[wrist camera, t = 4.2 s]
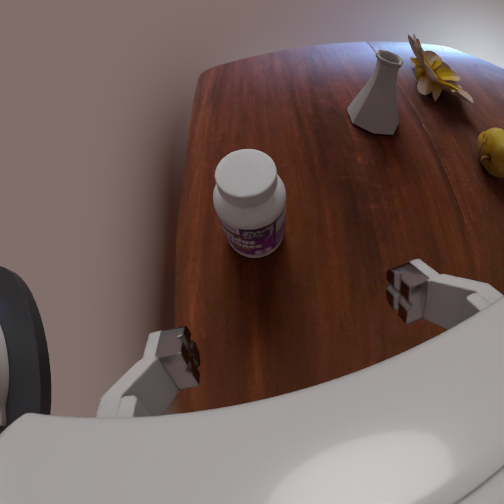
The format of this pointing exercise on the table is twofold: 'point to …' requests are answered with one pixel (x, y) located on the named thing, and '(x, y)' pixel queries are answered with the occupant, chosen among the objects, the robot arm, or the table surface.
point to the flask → (378, 97)
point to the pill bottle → (250, 202)
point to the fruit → (492, 151)
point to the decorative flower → (434, 73)
